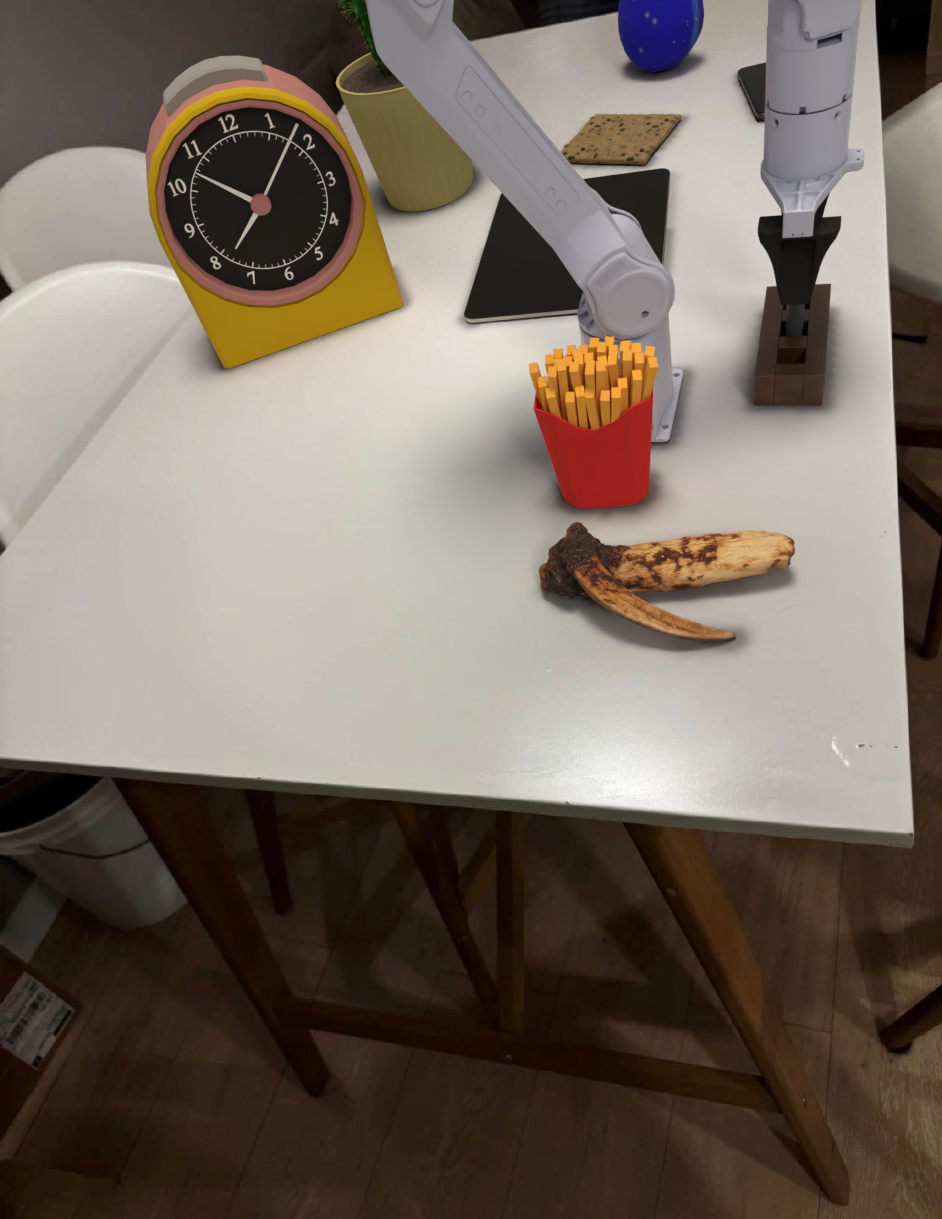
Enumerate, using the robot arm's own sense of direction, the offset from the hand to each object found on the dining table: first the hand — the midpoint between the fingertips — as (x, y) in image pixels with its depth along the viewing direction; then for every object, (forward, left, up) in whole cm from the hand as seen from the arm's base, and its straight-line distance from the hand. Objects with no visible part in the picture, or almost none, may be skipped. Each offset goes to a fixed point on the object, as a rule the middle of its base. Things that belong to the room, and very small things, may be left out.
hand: (797, 274), depth 72 cm
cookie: (+45, +23, -8) cm, 51 cm away
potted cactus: (+37, +46, -8) cm, 60 cm away
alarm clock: (+9, +52, -8) cm, 53 cm away
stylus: (0, 0, -8) cm, 8 cm away
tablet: (+21, +24, -8) cm, 33 cm away
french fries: (-17, +13, -8) cm, 23 cm away
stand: (0, 0, -8) cm, 8 cm away
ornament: (+66, +21, -8) cm, 70 cm away
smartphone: (+54, +5, -8) cm, 55 cm away
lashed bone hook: (-28, +7, -8) cm, 30 cm away
